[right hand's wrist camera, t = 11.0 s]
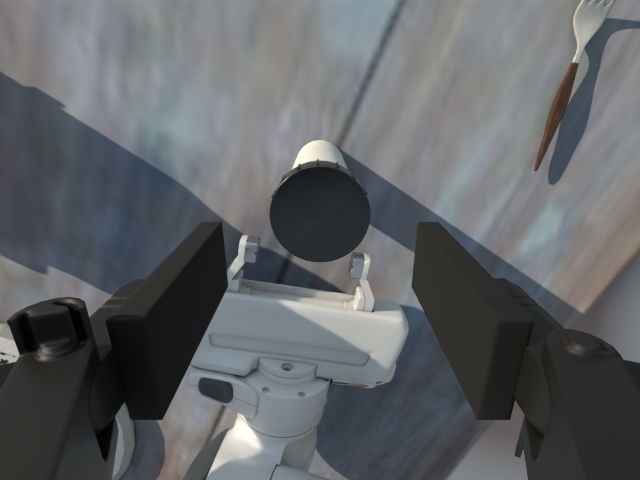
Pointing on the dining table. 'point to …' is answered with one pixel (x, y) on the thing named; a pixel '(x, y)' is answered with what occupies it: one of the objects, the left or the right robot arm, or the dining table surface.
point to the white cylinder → (320, 153)
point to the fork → (574, 63)
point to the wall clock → (5, 351)
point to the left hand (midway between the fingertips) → (306, 246)
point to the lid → (320, 211)
